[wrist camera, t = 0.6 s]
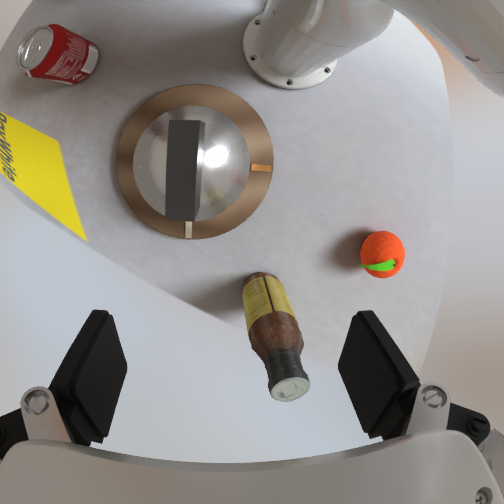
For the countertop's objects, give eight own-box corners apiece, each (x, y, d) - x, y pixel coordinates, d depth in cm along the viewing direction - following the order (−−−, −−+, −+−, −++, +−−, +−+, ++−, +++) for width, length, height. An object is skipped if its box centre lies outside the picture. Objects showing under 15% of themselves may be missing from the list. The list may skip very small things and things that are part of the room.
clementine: (347, 270, 43) (365, 294, 36) (345, 230, 40) (366, 249, 33) (390, 260, 43) (412, 280, 36) (390, 221, 40) (415, 237, 33)
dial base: (126, 89, 29) (119, 86, 27) (278, 93, 31) (282, 90, 29) (123, 230, 37) (117, 236, 35) (262, 238, 39) (264, 244, 37)
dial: (139, 107, 29) (117, 102, 22) (254, 110, 30) (261, 104, 23) (136, 215, 34) (116, 236, 27) (243, 221, 36) (247, 243, 29)
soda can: (109, 47, 26) (67, 22, 15) (87, 89, 28) (38, 80, 17) (75, 39, 24) (30, 18, 13) (55, 79, 27) (4, 71, 16)
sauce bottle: (241, 305, 44) (251, 411, 26) (241, 270, 41) (252, 374, 23) (282, 304, 44) (312, 405, 26) (285, 269, 42) (323, 368, 24)
